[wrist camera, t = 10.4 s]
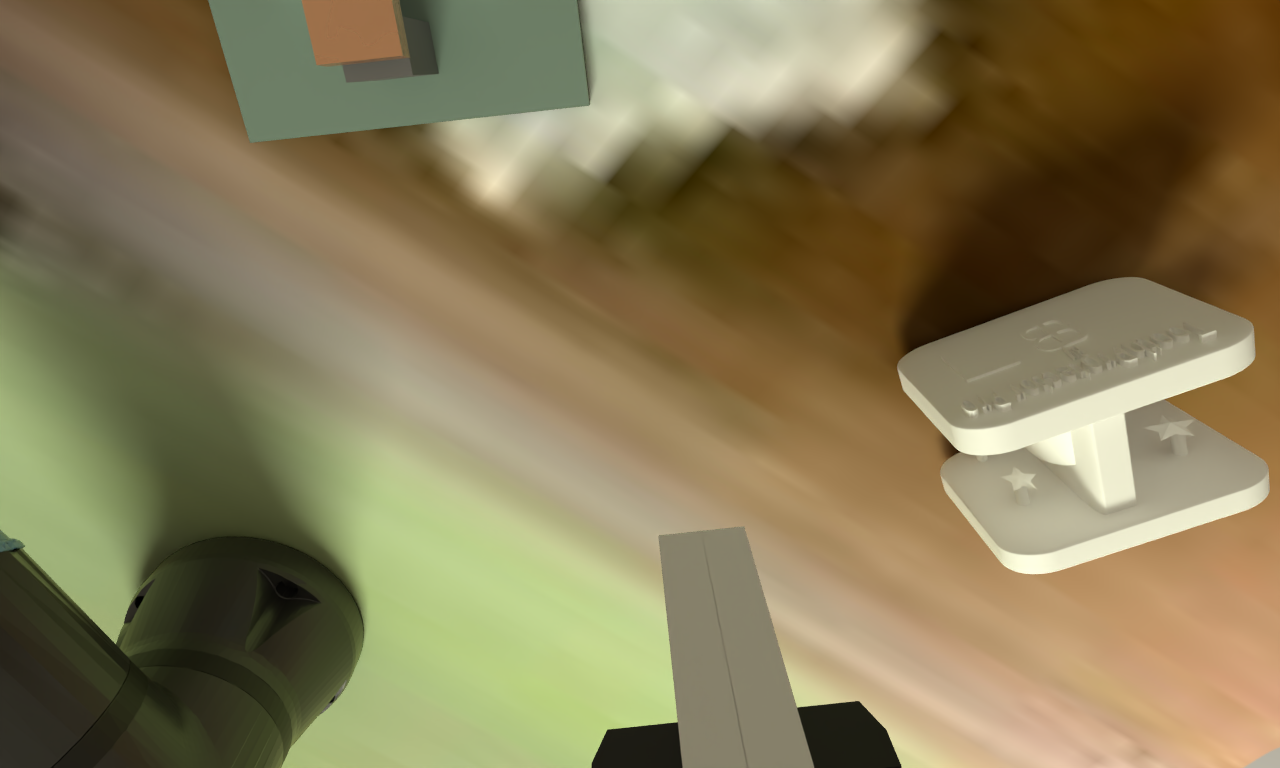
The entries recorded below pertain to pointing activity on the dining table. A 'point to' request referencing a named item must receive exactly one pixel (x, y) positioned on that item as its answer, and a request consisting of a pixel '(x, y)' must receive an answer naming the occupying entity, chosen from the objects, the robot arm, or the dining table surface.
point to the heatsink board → (466, 48)
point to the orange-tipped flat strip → (355, 31)
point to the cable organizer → (1087, 422)
